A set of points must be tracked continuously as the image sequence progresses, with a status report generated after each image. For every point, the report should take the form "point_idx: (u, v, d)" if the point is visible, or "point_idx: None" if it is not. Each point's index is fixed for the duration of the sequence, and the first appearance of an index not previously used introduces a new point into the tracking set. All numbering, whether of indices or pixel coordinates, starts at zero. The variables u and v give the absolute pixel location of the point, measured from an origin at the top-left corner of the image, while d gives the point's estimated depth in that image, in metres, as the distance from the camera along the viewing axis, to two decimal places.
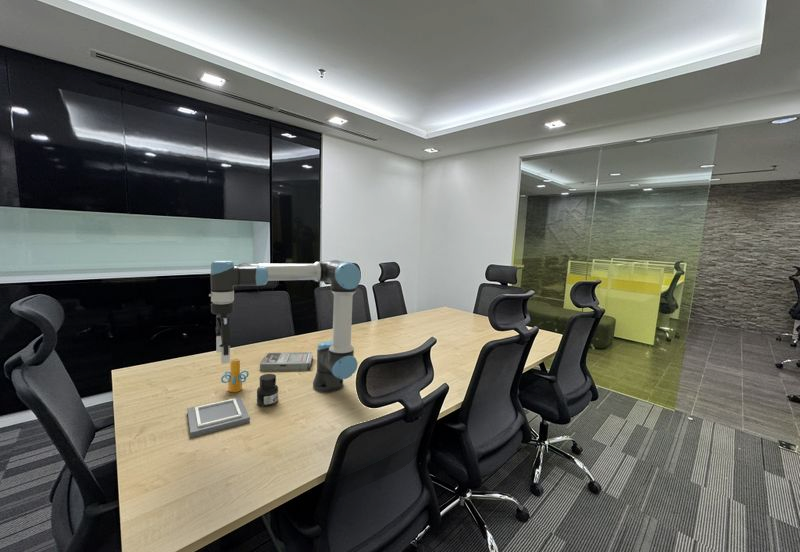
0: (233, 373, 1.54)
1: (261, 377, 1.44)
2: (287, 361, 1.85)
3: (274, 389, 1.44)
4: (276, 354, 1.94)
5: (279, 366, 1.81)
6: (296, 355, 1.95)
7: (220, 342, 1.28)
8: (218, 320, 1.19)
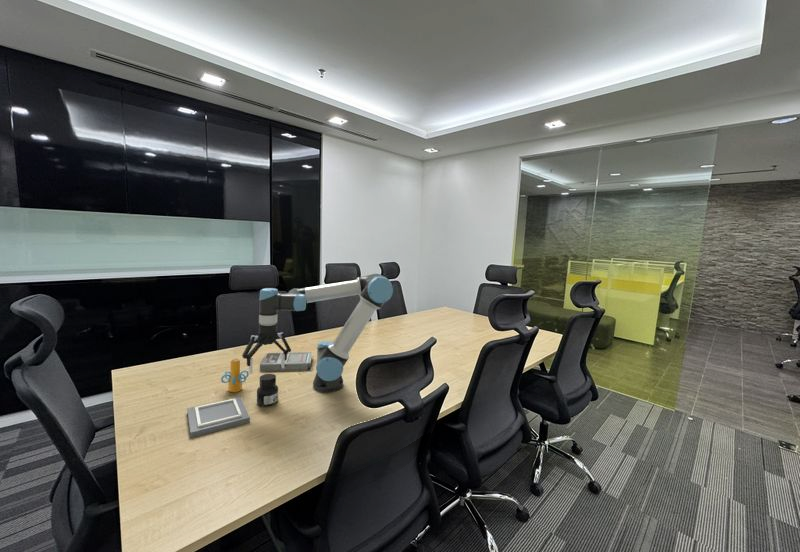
0: (233, 373, 1.54)
1: (261, 377, 1.44)
2: (287, 361, 1.84)
3: (274, 389, 1.44)
4: (275, 355, 1.94)
5: (279, 367, 1.81)
6: (296, 355, 1.95)
7: (282, 359, 1.48)
8: None
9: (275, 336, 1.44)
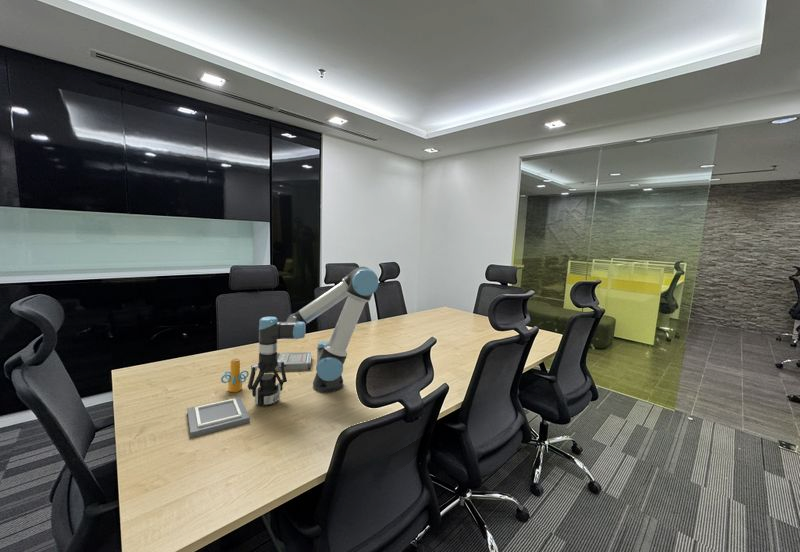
0: (233, 373, 1.54)
1: None
2: (287, 361, 1.84)
3: (274, 389, 1.44)
4: None
5: (279, 367, 1.80)
6: (296, 355, 1.95)
7: None
8: None
9: (275, 364, 1.45)
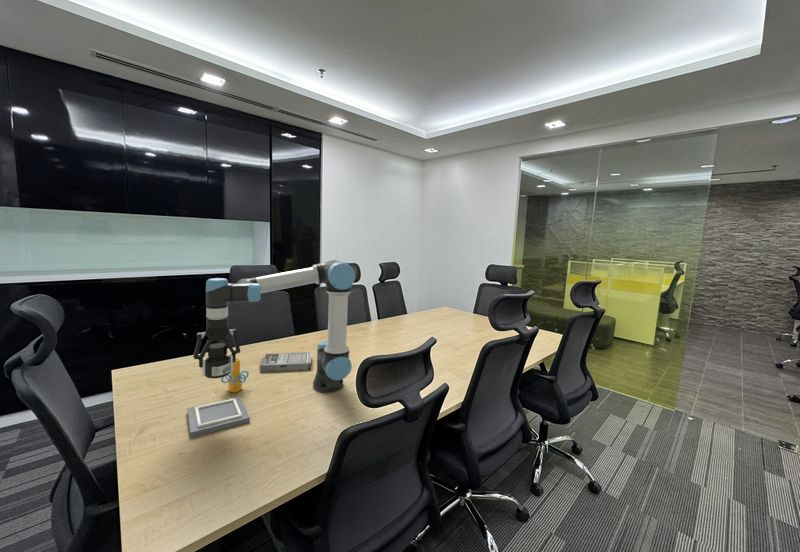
0: (233, 373, 1.54)
1: None
2: (287, 362, 1.84)
3: (224, 359, 1.28)
4: (274, 355, 1.93)
5: (279, 367, 1.80)
6: (295, 355, 1.94)
7: (230, 361, 1.32)
8: None
9: (226, 331, 1.29)
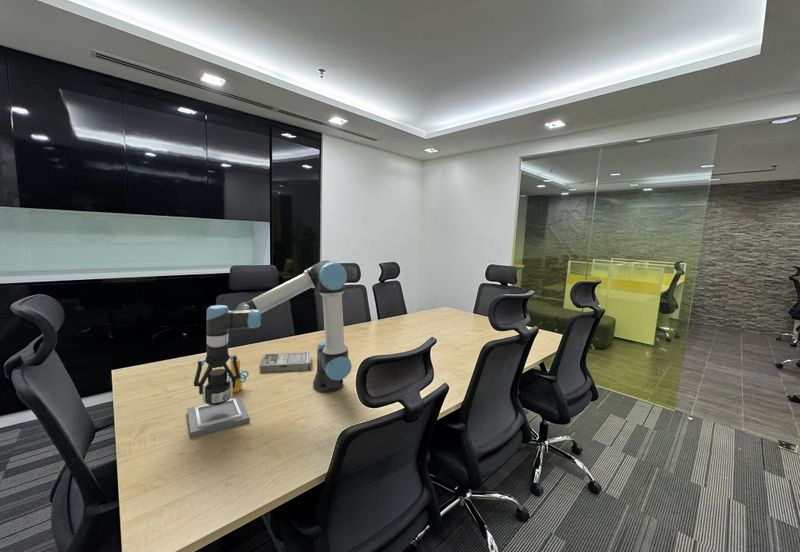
0: (233, 373, 1.54)
1: (210, 372, 1.29)
2: (287, 362, 1.84)
3: (224, 386, 1.29)
4: (274, 356, 1.92)
5: (279, 367, 1.80)
6: (295, 355, 1.94)
7: None
8: None
9: (226, 358, 1.30)
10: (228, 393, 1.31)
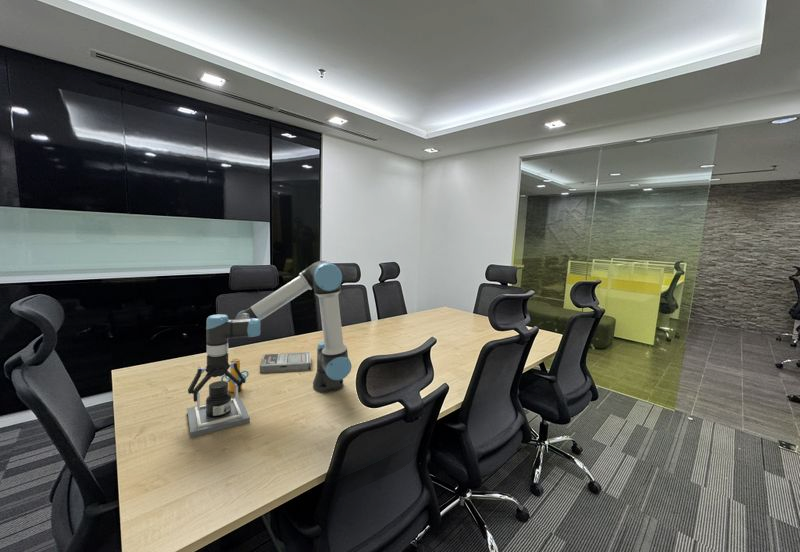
0: (233, 373, 1.54)
1: (211, 385, 1.30)
2: (288, 362, 1.84)
3: (225, 398, 1.30)
4: (273, 356, 1.92)
5: (280, 367, 1.80)
6: (295, 355, 1.94)
7: (235, 391, 1.35)
8: None
9: (226, 367, 1.31)
10: (229, 405, 1.32)
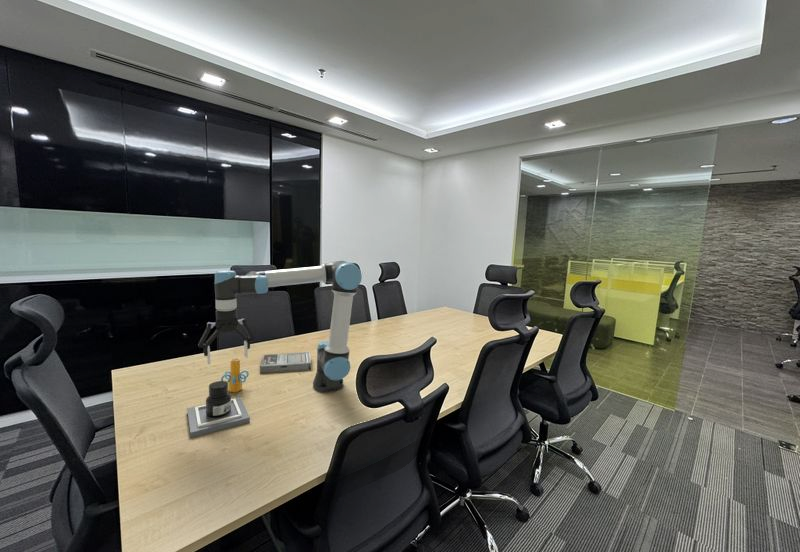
0: (233, 373, 1.54)
1: (211, 385, 1.30)
2: (288, 362, 1.83)
3: (225, 398, 1.30)
4: (273, 356, 1.91)
5: (280, 368, 1.79)
6: (294, 356, 1.94)
7: (244, 347, 1.36)
8: None
9: (235, 323, 1.32)
10: (229, 405, 1.32)
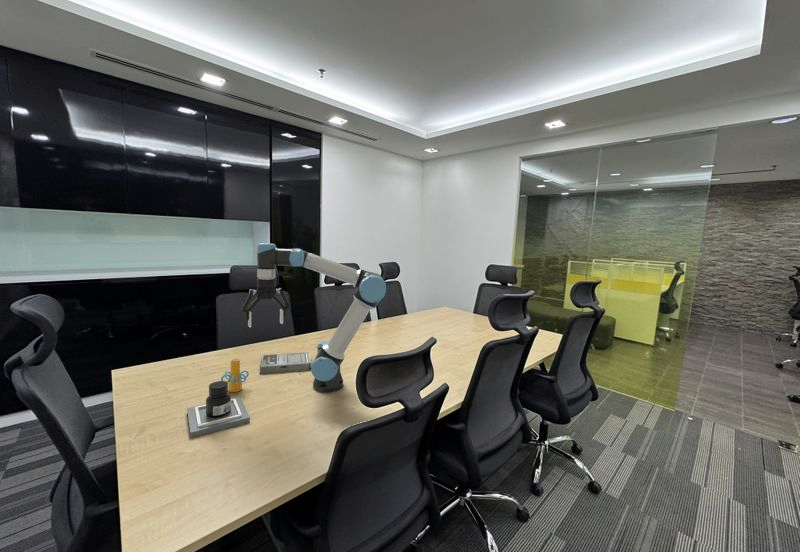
0: (233, 373, 1.54)
1: (211, 385, 1.30)
2: (288, 362, 1.83)
3: (225, 398, 1.30)
4: (272, 356, 1.91)
5: (280, 368, 1.79)
6: (294, 356, 1.94)
7: (280, 315, 1.49)
8: None
9: (273, 291, 1.45)
10: (229, 405, 1.32)
